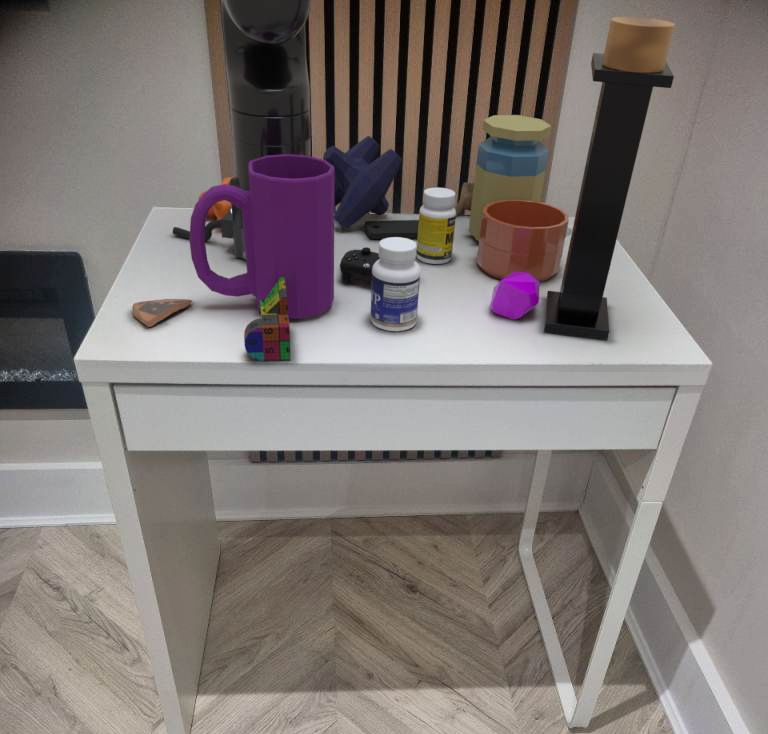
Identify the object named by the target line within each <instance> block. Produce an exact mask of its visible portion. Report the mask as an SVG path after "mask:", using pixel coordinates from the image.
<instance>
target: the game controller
mask: <svg viewBox="0 0 768 734" xmlns="http://www.w3.org/2000/svg"><path fill="white" fill-rule="evenodd" d="M379 259H380V258H379V254H378V252H376V251H371V247H367V246H366V247H362V249H352V250H349V251H347V252H346V253H344V254H343V256H342V258H341V260H340V264H339V270H340V274H341V281H342V282H343V283H351V281H352V280H353V279H358V280H362V281H367V282H370V283H372V268H373V265H374V263H375V262H376V261H377V260H379Z"/></svg>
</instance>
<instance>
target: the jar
mask: <svg viewBox="0 0 768 734" xmlns="http://www.w3.org/2000/svg"><path fill="white" fill-rule="evenodd" d="M482 130H483V131H484V132H485V133H487V134H488V136H489V137H487V138H486V139H484V140H483V141H481V142H480V143H479V144H478V146H477V147H478V148H477V155H476V163H475V172H474V173H475V174H474V182H473V183H474V189H473V197H472V206H471V211H470V214H469V223H468V232H469V233H470V234H471V236H473V237H474V239H475V240H476V241H478V242H479V237H480V229H481V221H482V213H483V209H484V206H486V205H487V204H489V203H491V202H495V201H500V200H513V199H521V200H530V201H537V202H541V199H542V194H543V190H544V189H543V188H544V182H545V177H546V171H547V165H548V159H549V155H550V150H549V149H548V148H547V147H546V146H545V145H544V144H543V143H542V142H541V141H542V140H544V139H545V138H548V137H549V136H550V135H551V130H552V125H551V124H549V123H547V122H546V121H545V120H543V119H541V118H536V117H531V116H525V115H519V114H494V115H491V116H489V117H487V118H484V119H483V120H482Z"/></svg>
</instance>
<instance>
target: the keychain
mask: <svg viewBox="0 0 768 734" xmlns="http://www.w3.org/2000/svg"><path fill="white" fill-rule="evenodd" d="M418 225H419V219H398V220H397V219H391V220H390V219H389V220H386V219H385V220H365V221H364V224H363V227H364V230H365V232H366V234H367V237H368V238H369V239H373V240H374V239H375V240H376V239H377V240H378V239H381V240H382V239H385V238H390V237H401V238H407V239H415V238H416V239H417V238H418Z"/></svg>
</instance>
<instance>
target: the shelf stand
mask: <svg viewBox="0 0 768 734" xmlns="http://www.w3.org/2000/svg"><path fill="white" fill-rule="evenodd" d="M603 57H604V53H599V52H593V53H592V56H591V62H590V65H591V67H590V68H591V75H592V76H591V77H592V82H595V83H601V87H600V92H599V97H598V101H597V106H596V111H595V117H594V120H593V127H592V131H591V136H590V142H589V146H588V151H587V156H586V161H585V166H584V171H583V175H582V179H581V186H580V191H579V195H578V199H577V200H578V201H577V205H576V209H575V215H574V220H573V225H572V231H571V235H570V239H569V240H570V241H569V245H568V250H567V255H566V260H565V265H564V269H563V275H562V281H561V285H560V289H559V291H555V290H547V293H546V297H545V308H544V326H543V333H546V334H553V335H561V336H568V337H569V336H570V337H576V338H584V339H593V340H601V341H608V339H609V335H610V321H609V320H610V319H609V307H608V297H604V294H605V289H606V285H607V281H608V276H609V274H610V269H611V265H612V260H613V256H614V252H615V247H616V243H617V240H618V236H619V231H620V227H621V222H622V218H623V214H624V210H625V207H626V202H627V198H628V193H629V189H630V185H631V181H632V178H633V172H634V169H635V164H636V160H637V157H638V151H639V148H640V144H641V140H642V135H643V131H644V127H645V123H646V118H647V115H648V110H649V105H650V101H651V97H652V94H653V91H654V90H653V89H654V88H663V89H664V88H665V89H672V86H673V83H674V78H675V75H674V74H673V71H672V69H671V68H670V66H669V64H668V62H667V61H666V63H665V67H664V70H663V71H662V72H658V73H635V72H626V71H619V70H615V69H611V68H607V67H605V66H603V64H602V62H603Z"/></svg>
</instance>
